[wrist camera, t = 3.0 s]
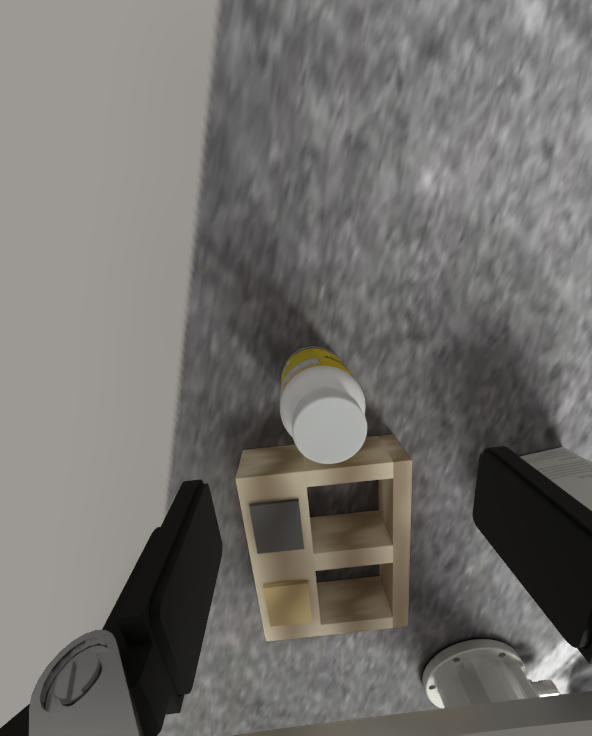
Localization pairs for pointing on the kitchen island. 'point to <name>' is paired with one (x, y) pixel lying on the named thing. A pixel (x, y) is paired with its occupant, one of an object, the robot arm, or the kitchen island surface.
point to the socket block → (327, 540)
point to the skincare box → (565, 472)
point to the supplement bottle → (322, 406)
